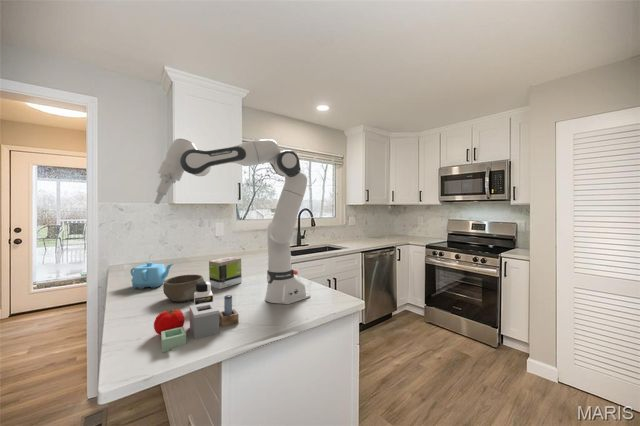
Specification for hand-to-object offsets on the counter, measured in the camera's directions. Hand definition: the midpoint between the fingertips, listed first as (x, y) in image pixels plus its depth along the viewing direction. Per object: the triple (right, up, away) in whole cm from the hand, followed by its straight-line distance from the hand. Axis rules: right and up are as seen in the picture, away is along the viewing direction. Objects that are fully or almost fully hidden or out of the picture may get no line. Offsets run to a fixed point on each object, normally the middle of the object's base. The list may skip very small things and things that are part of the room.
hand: (157, 202), depth 116 cm
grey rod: (+35, -46, -13) cm, 60 cm away
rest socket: (+22, -48, -28) cm, 60 cm away
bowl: (+4, -47, +16) cm, 49 cm away
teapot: (-24, -46, +35) cm, 63 cm away
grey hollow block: (+29, -47, -20) cm, 59 cm away
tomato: (+17, -48, -20) cm, 54 cm away
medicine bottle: (+19, -47, +2) cm, 51 cm away
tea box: (+16, -46, +39) cm, 62 cm away
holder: (+35, -47, -13) cm, 60 cm away
